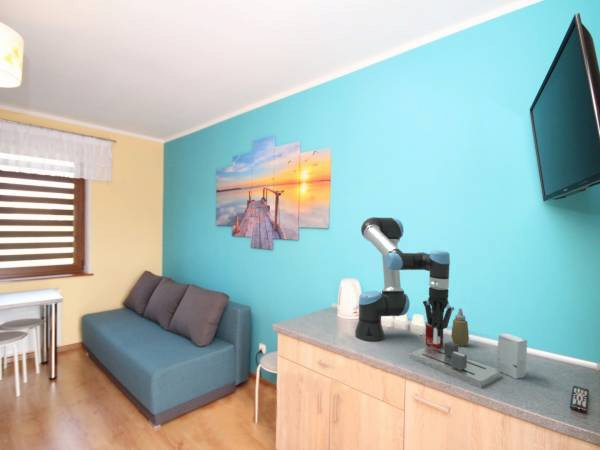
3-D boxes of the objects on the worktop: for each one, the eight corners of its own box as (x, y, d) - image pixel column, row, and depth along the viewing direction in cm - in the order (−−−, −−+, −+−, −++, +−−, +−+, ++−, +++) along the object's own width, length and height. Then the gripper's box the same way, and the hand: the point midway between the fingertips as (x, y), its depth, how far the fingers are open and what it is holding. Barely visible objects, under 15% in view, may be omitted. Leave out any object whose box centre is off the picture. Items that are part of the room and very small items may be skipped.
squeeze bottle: (452, 346, 151) (453, 309, 152) (449, 340, 159) (450, 306, 159) (470, 348, 149) (471, 311, 149) (467, 342, 157) (467, 307, 157)
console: (409, 358, 135) (409, 340, 135) (430, 351, 144) (430, 334, 144) (481, 388, 111) (481, 366, 111) (500, 377, 120) (501, 357, 120)
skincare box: (496, 370, 126) (496, 334, 126) (505, 368, 128) (506, 332, 128) (517, 379, 118) (518, 341, 118) (527, 377, 120) (527, 339, 120)
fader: (451, 366, 121) (451, 352, 121) (456, 364, 124) (456, 350, 124) (461, 370, 118) (461, 356, 118) (466, 367, 120) (466, 354, 120)
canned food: (444, 349, 147) (445, 326, 147) (427, 347, 148) (427, 325, 149) (440, 343, 154) (441, 321, 155) (424, 342, 156) (424, 320, 156)
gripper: (419, 285, 132) (417, 339, 132) (448, 291, 121) (446, 350, 122) (429, 283, 136) (427, 336, 137) (458, 289, 125) (456, 346, 126)
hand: (436, 343), depth 129 cm, fingers closed
